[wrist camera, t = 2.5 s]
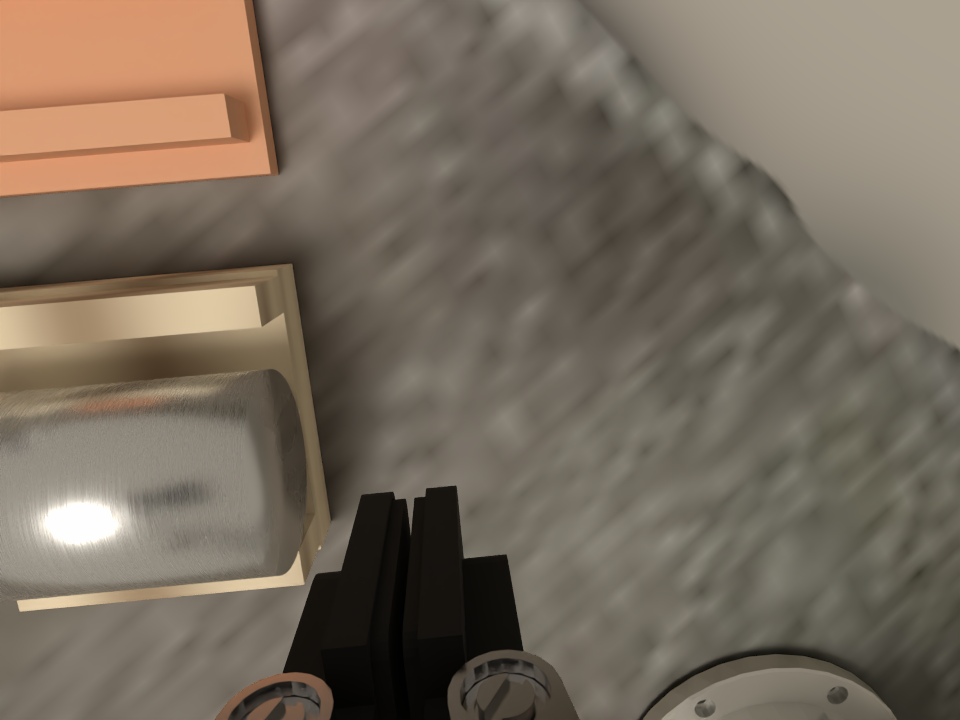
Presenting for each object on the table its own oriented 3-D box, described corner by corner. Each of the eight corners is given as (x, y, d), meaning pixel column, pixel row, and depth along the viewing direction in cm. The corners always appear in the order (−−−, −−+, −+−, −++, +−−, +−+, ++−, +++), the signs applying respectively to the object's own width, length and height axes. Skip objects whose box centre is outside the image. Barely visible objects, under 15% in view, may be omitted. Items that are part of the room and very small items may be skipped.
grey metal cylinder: (281, 336, 21) (225, 439, 15) (315, 489, 23) (278, 623, 18) (-37, 364, 20) (-209, 478, 15) (34, 515, 23) (-91, 658, 18)
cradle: (238, -94, 20) (204, -141, 17) (279, 174, 22) (253, 171, 19) (-90, -70, 20) (-177, -113, 17) (-20, 198, 22) (-88, 198, 19)
